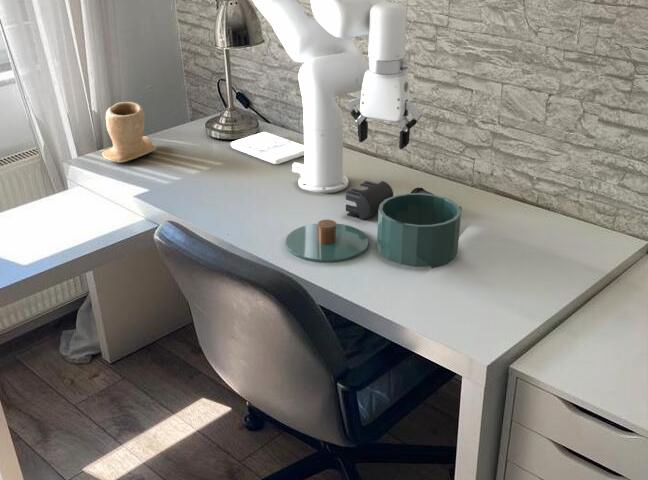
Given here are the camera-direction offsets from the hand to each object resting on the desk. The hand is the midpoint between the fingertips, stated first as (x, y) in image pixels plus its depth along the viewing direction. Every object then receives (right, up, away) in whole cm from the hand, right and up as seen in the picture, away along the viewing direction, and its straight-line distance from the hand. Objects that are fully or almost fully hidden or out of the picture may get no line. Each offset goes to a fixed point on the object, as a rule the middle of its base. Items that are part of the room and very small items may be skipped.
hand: (382, 143), depth 176 cm
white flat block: (-27, +7, +47) cm, 55 cm away
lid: (-13, -22, -5) cm, 26 cm away
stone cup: (-65, +5, +43) cm, 78 cm away
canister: (+7, -24, -7) cm, 26 cm away
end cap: (-2, -15, +9) cm, 17 cm away
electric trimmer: (+13, -13, +12) cm, 22 cm away
